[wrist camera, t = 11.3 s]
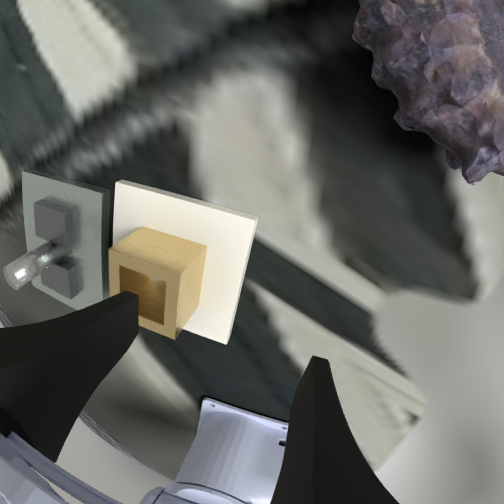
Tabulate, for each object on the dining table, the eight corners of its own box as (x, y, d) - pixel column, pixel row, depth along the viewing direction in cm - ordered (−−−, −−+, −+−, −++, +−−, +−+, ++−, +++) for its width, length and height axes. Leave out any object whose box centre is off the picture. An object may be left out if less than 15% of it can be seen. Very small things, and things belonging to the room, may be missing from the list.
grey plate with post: (110, 190, 21) (43, 220, 15) (110, 317, 27) (66, 363, 21) (30, 168, 23) (-30, 189, 17) (38, 281, 28) (-6, 313, 22)
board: (258, 216, 20) (255, 220, 19) (229, 338, 24) (226, 344, 23) (122, 179, 21) (115, 182, 20) (118, 295, 25) (113, 300, 25)
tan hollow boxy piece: (207, 245, 20) (180, 274, 17) (198, 305, 23) (174, 339, 19) (143, 226, 21) (108, 249, 17) (140, 284, 23) (111, 313, 20)
